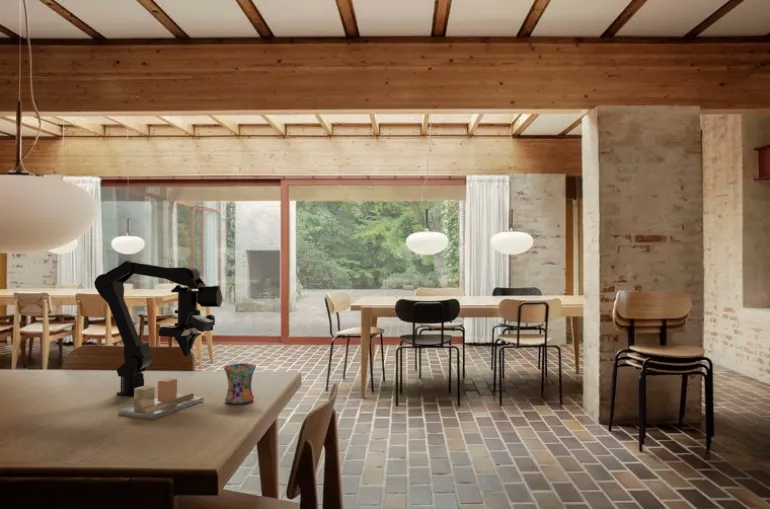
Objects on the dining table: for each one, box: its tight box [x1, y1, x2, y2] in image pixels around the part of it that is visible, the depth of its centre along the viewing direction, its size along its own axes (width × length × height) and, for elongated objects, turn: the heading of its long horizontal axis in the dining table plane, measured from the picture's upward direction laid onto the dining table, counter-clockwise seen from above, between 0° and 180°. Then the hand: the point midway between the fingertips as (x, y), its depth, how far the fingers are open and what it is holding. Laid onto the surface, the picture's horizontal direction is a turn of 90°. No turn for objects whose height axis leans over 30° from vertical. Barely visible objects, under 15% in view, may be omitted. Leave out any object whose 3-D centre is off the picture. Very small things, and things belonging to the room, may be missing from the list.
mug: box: [223, 363, 257, 405], centre depth 160 cm, size 12×9×11 cm
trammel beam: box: [133, 385, 195, 413], centre depth 151 cm, size 5×18×6 cm, turn 160°
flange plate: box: [117, 393, 205, 420], centre depth 151 cm, size 12×20×1 cm, turn 159°
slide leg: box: [157, 377, 178, 402], centre depth 153 cm, size 4×4×6 cm
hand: (186, 356), depth 167 cm, fingers closed
